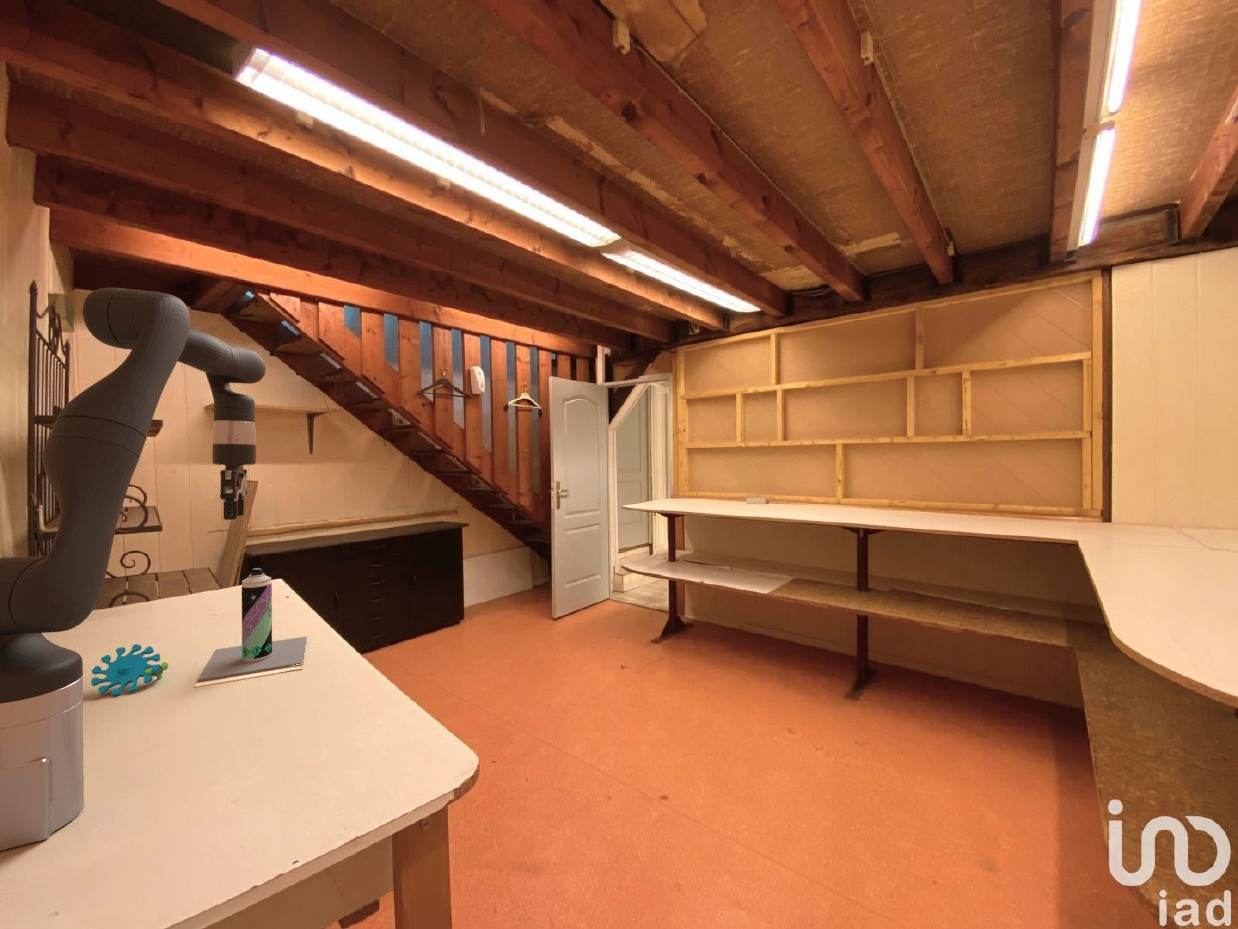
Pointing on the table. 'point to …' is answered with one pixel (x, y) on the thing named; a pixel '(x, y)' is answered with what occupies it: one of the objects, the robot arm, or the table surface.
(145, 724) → the table surface
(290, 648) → the gray flat panel
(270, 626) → the spray can
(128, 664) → the gear
